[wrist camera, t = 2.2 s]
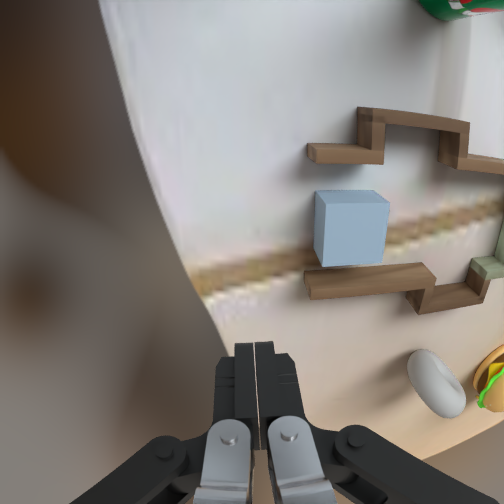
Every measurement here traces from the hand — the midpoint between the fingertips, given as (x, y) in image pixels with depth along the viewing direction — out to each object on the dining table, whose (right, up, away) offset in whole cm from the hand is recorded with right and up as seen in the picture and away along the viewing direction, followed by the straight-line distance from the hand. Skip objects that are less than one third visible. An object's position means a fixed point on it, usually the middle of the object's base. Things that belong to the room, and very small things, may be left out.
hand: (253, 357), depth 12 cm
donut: (+21, -9, +22) cm, 32 cm away
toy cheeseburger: (+39, -14, +26) cm, 49 cm away
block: (+8, +7, +14) cm, 17 cm away
